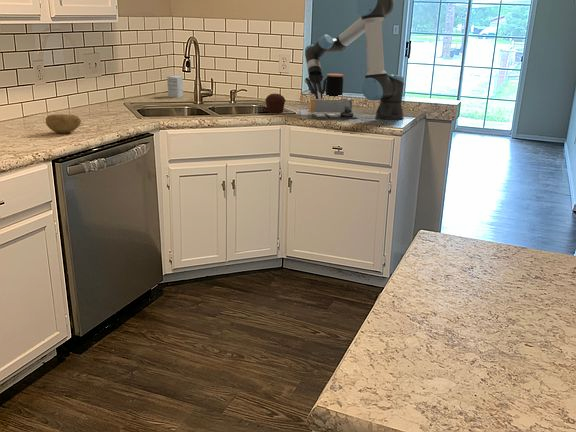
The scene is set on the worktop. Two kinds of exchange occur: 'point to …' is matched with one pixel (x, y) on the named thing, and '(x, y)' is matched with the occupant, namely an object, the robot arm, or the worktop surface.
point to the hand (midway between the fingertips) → (319, 103)
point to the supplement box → (175, 86)
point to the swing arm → (331, 105)
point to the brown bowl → (63, 123)
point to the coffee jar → (334, 84)
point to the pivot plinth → (347, 115)
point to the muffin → (275, 103)
